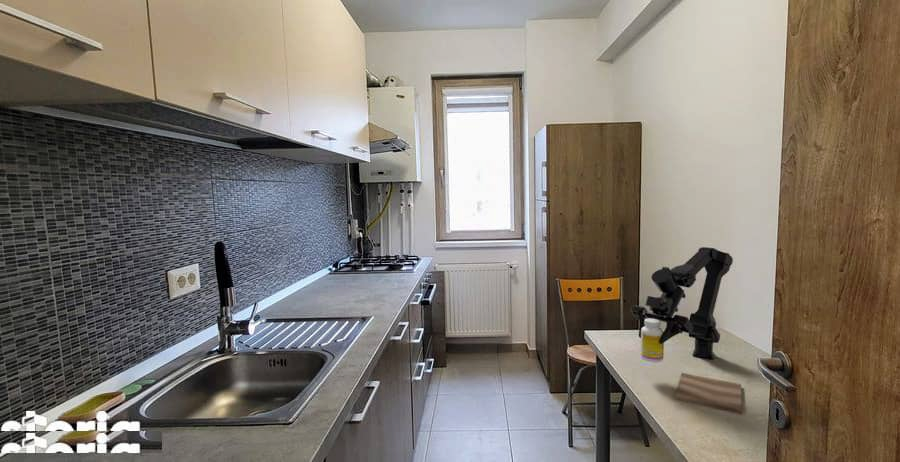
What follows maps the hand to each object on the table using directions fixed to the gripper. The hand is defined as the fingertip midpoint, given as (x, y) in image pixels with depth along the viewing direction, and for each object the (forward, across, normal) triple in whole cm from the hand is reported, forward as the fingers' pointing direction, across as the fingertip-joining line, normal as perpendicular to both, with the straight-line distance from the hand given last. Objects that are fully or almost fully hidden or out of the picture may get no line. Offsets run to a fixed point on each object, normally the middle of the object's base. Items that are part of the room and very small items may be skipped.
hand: (649, 340), depth 134 cm
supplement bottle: (+4, 0, +6) cm, 7 cm away
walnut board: (+5, +16, +13) cm, 21 cm away
